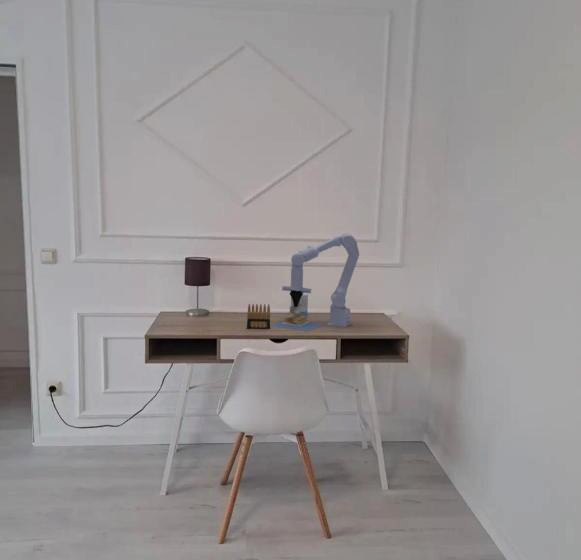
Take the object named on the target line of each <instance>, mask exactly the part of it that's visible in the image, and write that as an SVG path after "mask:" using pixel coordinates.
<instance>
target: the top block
mask: <svg viewBox="0 0 581 560" xmlns="http://www.w3.org/2000/svg"><path fill="white" fill-rule="evenodd" d="M289 315H290V317H294V318H299V317H302V306H298V307H294V305H293V306H291V305H290V306H289Z"/></svg>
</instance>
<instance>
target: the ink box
mask: <svg viewBox="0 0 581 560" xmlns="http://www.w3.org/2000/svg"><path fill="white" fill-rule="evenodd" d="M296 291H299V290H296ZM308 301H309V293H303V295H302V297H301V299H300V301H299V305H298V306H302V316H307V317H308V308H309V307H308V305H309V303H308ZM293 305H294V304H293V300H292V298H291V297H290V306H293Z"/></svg>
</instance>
